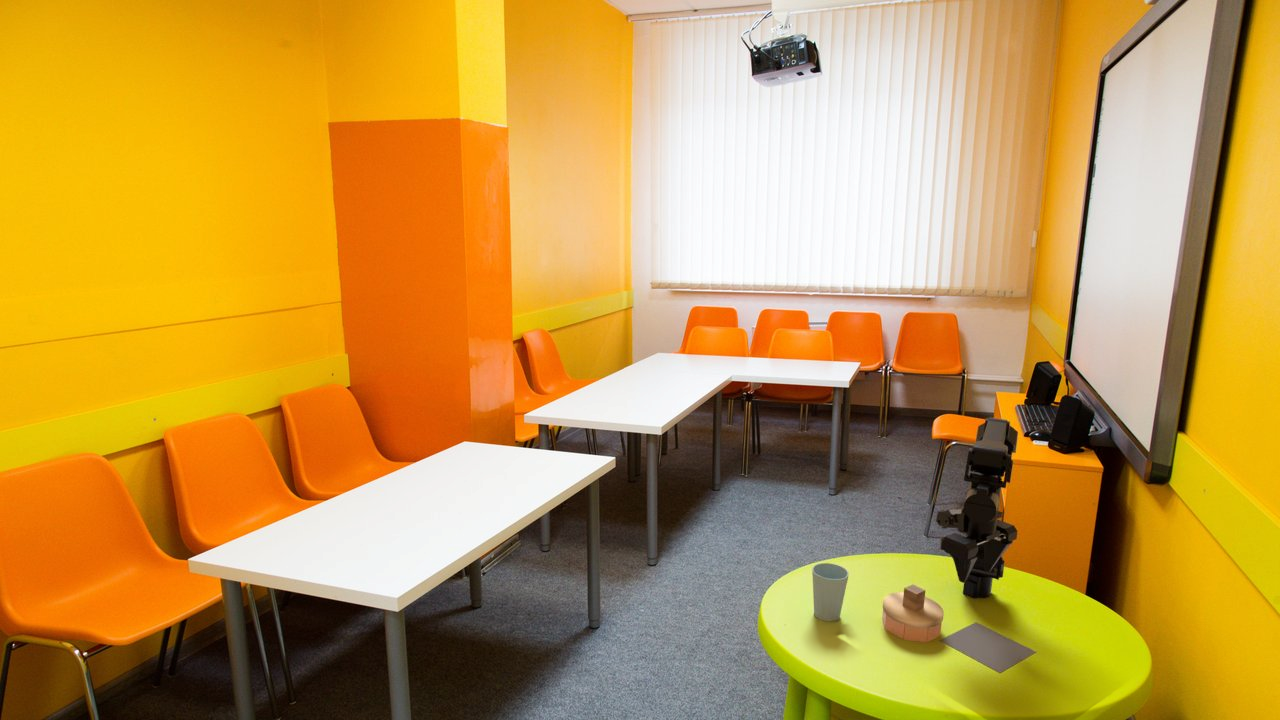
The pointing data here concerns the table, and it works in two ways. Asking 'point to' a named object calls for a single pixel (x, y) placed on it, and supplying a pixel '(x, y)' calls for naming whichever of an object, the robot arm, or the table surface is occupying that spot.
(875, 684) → the table surface
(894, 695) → the table surface
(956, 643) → the mat
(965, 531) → the robot arm
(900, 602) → the lid
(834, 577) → the cup
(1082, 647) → the table surface
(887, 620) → the ring
